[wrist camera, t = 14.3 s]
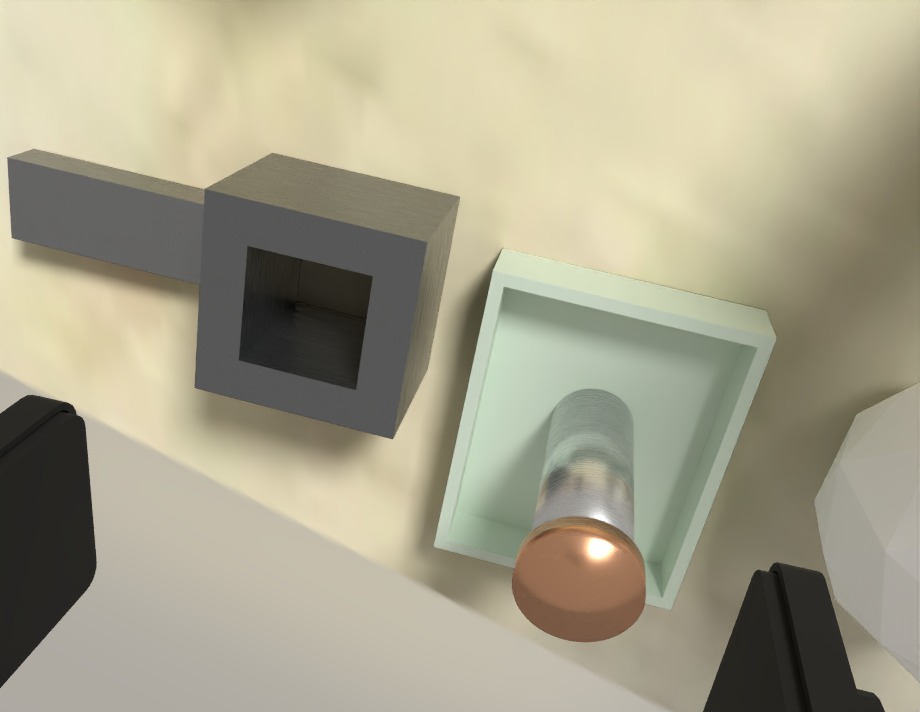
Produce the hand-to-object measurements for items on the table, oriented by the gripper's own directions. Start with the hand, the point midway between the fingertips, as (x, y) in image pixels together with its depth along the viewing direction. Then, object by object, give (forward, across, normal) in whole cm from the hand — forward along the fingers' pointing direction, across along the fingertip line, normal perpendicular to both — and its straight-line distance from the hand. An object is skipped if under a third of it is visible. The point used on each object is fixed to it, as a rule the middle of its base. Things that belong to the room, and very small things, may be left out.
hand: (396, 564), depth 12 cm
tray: (+28, -4, +13) cm, 31 cm away
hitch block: (+28, +15, +7) cm, 33 cm away
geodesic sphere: (+29, -20, +11) cm, 37 cm away
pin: (+28, -4, +13) cm, 31 cm away
